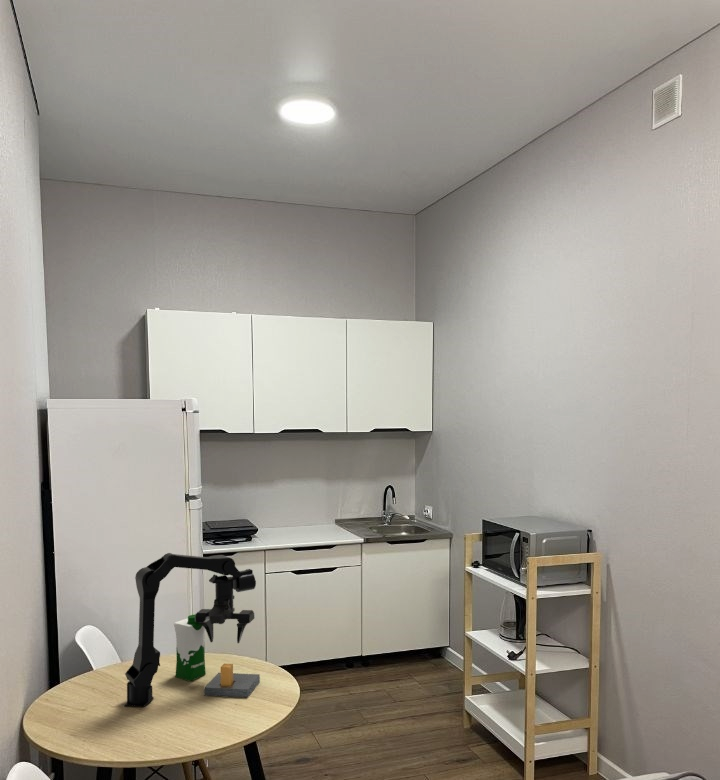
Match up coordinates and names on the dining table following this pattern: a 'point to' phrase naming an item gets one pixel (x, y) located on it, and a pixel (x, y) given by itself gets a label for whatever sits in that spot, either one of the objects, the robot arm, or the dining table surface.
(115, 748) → the dining table surface
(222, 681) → the tan rectangular box
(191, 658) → the milk carton
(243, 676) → the gray slab with hole
